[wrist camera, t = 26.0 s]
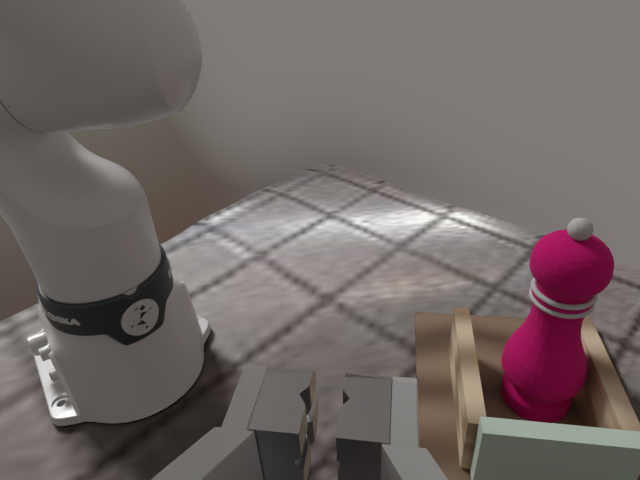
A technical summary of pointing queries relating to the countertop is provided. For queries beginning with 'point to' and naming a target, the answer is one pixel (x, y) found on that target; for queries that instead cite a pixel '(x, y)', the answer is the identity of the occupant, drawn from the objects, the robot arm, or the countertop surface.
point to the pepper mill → (555, 323)
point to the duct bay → (495, 384)
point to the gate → (553, 452)
